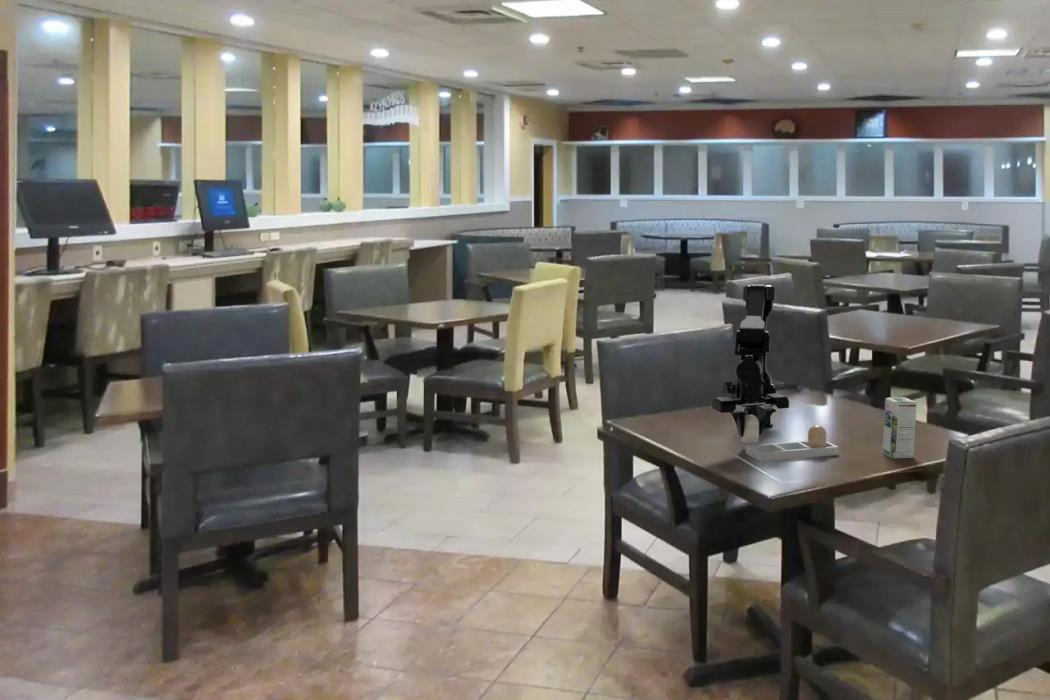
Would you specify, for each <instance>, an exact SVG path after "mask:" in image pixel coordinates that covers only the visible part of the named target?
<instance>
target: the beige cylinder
mask: <svg viewBox="0 0 1050 700" xmlns="http://www.w3.org/2000/svg"><path fill="white" fill-rule="evenodd" d="M807 441H808V446H809V447H811V448H819V447H826V441H827V430H826V429H825V428H824V427H823V426H822V425H818V424H816V425H812V426H811V427H810V428H809V429H808V432H807Z"/></svg>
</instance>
